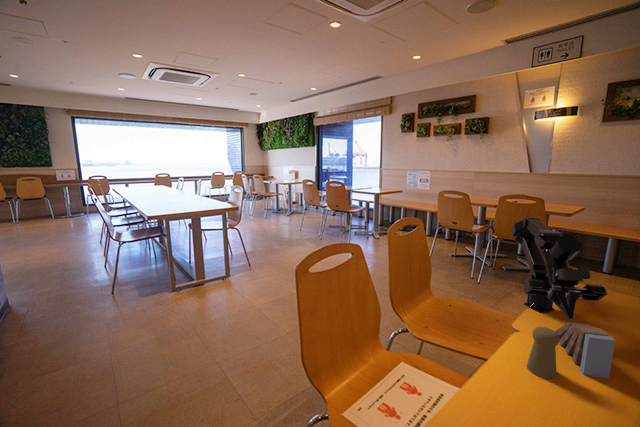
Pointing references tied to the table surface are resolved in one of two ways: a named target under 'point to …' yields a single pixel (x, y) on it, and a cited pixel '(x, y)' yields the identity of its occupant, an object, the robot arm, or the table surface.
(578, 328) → the walnut tile
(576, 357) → the walnut tile
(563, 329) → the walnut tile
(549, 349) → the pepper shaker
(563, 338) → the walnut tile
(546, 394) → the table surface
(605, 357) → the slate end tile
